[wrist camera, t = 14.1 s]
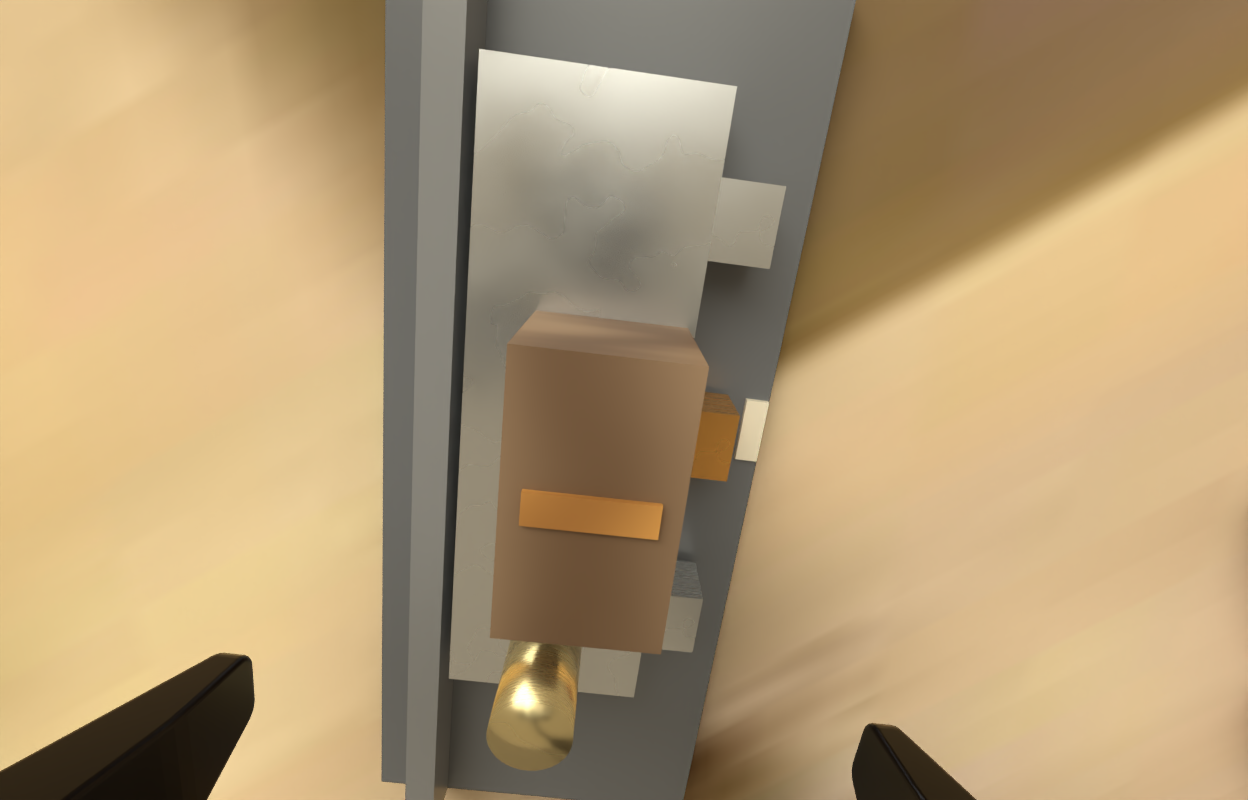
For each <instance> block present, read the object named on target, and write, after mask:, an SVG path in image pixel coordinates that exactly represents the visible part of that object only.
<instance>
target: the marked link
mask: <svg viewBox="0 0 1248 800" xmlns="http://www.w3.org/2000/svg"><path fill="white" fill-rule="evenodd" d="M708 371H709V366H708V364H707V362H706V360H705V358H704V356H703V355H702V353H701V351H700V349H699V347H698V345H697V344H696V342H695V340H694V338H693V336H692V334H691V333H690V331H689V329H688V328H683V327H674V326H666V325H657V324H649V323H640V322H632V321H623V320H614V319H606V318H597V317H589V316H580V315H572V314H563V313H555V312H546V311H538V310H536V311H535V312H534V313H533V314H532V315H531V316H530V318H529V319H528V320H527V321H526V322H525V323H524V325H523V326H522V327H521V328H520V329H519V330H518V331H517V333H516V334H515V335H514V336H513V337H512V338H511V340H510V341H509V342H508V343H507V353H506V370H505V387H504V404H503V421H502V438H501V455H500V472H499V489H498V507H497V524H496V541H495V558H494V575H493V592H492V609H491V626H490V638H494V639H505V640H515V641H525V642H536V643H546V644H557V645H567V646H578V647H588V648H598V649H609V650H619V651H630V652H640V653H651V654H661V651H662V645H663V639H664V633H665V627H666V621H667V615H668V609H669V603H670V597H671V591H672V586H673V580H674V574H675V568H676V562H677V556H678V550H679V544H680V538H681V532H682V526H683V520H684V514H685V508H686V502H687V496H688V490H689V484H690V478H691V472H692V466H693V460H694V454H695V448H696V442H697V436H698V430H699V424H700V418H701V412H702V406H703V400H704V395H705V389H706V383H707V377H708Z"/></svg>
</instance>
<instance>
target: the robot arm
mask: <svg viewBox="0 0 1248 800" xmlns="http://www.w3.org/2000/svg"><path fill="white" fill-rule="evenodd" d="M254 700H255V698H254V683H253V669H252V661H251V659H250V658H249V657H248V656H246V655H239V654H230V653H219V654H216V655H213V656H211V657H209V658H208V659H206V660H204V661H202V662H200V663H198V664H197V665H195V666H193V667H191V668H189V669H187V670H186V671H184V672H182V673H180V674H178V675H176V676H175V677H173V678H171V679H169V680H167V681H165V682H163V683H162V684H160V685H158V686H156V687H154V688H152V689H151V690H149V691H147V692H145V693H143V694H141V695H140V696H138V697H136V698H134V699H132V700H130V701H129V702H127V703H125V704H123V705H121V706H119V707H118V708H116V709H114V710H112V711H110V712H108V713H107V714H105V715H103V716H101V717H99V718H97V719H95V720H94V721H92V722H90V723H88V724H86V725H84V726H83V727H81V728H79V729H77V730H75V731H73V732H72V733H70V734H68V735H66V736H64V737H62V738H61V739H59V740H57V741H55V742H53V743H51V744H50V745H48V746H46V747H44V748H42V749H40V750H39V751H37V752H35V753H33V754H31V755H29V756H27V757H26V758H24V759H22V760H20V761H18V762H16V763H15V764H13V765H11V766H9V767H7V768H5V769H4V770H2V771H0V800H207V799H208V797H209V795H210V793H211V791H212V789H213V787H214V786H215V784H216V782H217V780H218V778H219V776H220V774H221V772H222V770H223V769H224V767H225V765H226V763H227V761H228V759H229V757H230V755H231V753H232V752H233V750H234V748H235V746H236V744H237V742H238V740H239V738H240V736H241V734H242V733H243V731H244V729H245V727H246V725H247V723H248V721H249V719H250V717H251V714H252V712H253V708H254ZM852 780H853V785H854V789H855V794H856V798H857V800H976V799H975V798H974V797H973V796H972V795H971V794H970V793H969V792H968V791H966V790H965V789H964V788H963V787H962V786H961V785H960V784H959V783H958V782H957V781H956V780H955V779H953V778H952V777H951V776H950V775H949V774H948V773H947V772H946V771H945V770H944V769H943V768H942V767H940V766H939V765H938V764H937V763H936V762H935V761H934V760H933V759H932V758H931V757H930V756H929V755H927V754H926V753H925V752H924V751H923V750H922V749H921V748H920V747H919V746H918V745H917V744H915V743H914V742H913V741H912V740H911V739H910V738H909V737H908V736H907V735H906V734H905V733H904V732H902V731H901V730H900V729H899V728H897V727H896V726H893V725H885V724H876V723H870V724H868V725H867V726H866V727H865V729H864V731H863V734H862V737H861V740H860V743H859V746H858V749H857V752H856V755H855V758H854V761H853V765H852Z"/></svg>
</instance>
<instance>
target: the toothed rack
mask: <svg viewBox="0 0 1248 800" xmlns="http://www.w3.org/2000/svg"><path fill="white" fill-rule="evenodd" d="M736 90H737V86H731V85H724V84H717V83H710V82H704V81H697V80H690V79H683V78H676V77H669V76H663V75H656V74H649V73H642V72H635V71H628V70H621V69H615V68H608V67H601V66H594V65H587V64H580V63H574V62H567V61H560V60H553V59H546V58H539V57H532V56H526V55H519V54H512V53H505V52H498V51H491V50H485V49H479V60H478V81H477V102H476V123H475V144H474V165H473V185H472V206H471V227H470V248H469V269H468V290H467V310H466V331H465V352H464V373H463V394H462V414H461V435H460V456H459V477H458V498H457V519H456V539H455V560H454V581H453V602H452V623H451V644H450V664H449V679H458V680H467V681H477V682H487V683H497V684H499V685H498V689H497V693H496V697H495V700H494V704H493V708H492V712H491V716H490V719H489V723H488V727H487V732H486V739H487V744H488V746H489V748H490V750H491V752H492V753H493V754H494V756H495V757H496V758H497V759H499V760H500V761H501V762H503V763H504V764H506V765H508V766H510V767H513V768H516V769H520V770H526V771H537V770H543V769H547V768H550V767H553V766H555V765H556V764H558V763H560V762H561V761H562V760H563V759H564V758H565V757H566V756H567V755H568V753H569V752H570V750H571V747H572V744H573V735H574V724H575V714H576V703H577V693H578V692H585V693H594V694H604V695H614V696H624V697H634V693H635V688H636V682H637V676H638V670H639V664H640V658H641V653H640V652H630V651H619V650H609V649H598V648H588V647H578V646H567V645H557V644H546V643H536V642H525V641H515V640H505V639H494V638H490V626H491V609H492V592H493V575H494V558H495V541H496V524H497V507H498V489H499V472H500V455H501V438H502V421H503V404H504V387H505V370H506V353H507V343H508V342H509V341H510V340H511V338H512V337H513V336H514V335H515V334H516V333H517V331H518V330H519V329H520V328H521V327H522V326H523V325H524V323H525V322H526V321H527V320H528V319H529V318H530V316H531V315H532V314H533V313H534V312H535V311H536V310H538V311H546V312H555V313H563V314H572V315H580V316H589V317H597V318H606V319H614V320H623V321H632V322H640V323H649V324H657V325H666V326H674V327H683V328H688V329H689V331H690V333H691V334H692V336H693V338H694V339H695V333H696V327H697V321H698V315H699V309H700V303H701V297H702V291H703V286H704V280H705V274H706V268H707V262H708V261H713V262H720V263H728V264H735V265H743V266H750V267H758V268H765V269H770V265H771V260H772V255H773V250H774V245H775V240H776V235H777V230H778V225H779V220H780V215H781V210H782V205H783V200H784V195H785V190H786V186H780V185H773V184H766V183H759V182H752V181H745V180H737V179H730V178H723V177H722V173H723V167H724V161H725V155H726V150H727V144H728V138H729V132H730V126H731V120H732V114H733V108H734V102H735V96H736ZM739 419H740V415H739V413H738V412H737V410H736V408H735V406H734V405H733V403H732V401H731V399H730V397H729V396H728V394H720V393H712V392H705V395H704V400H703V406H702V412H701V418H700V424H699V430H698V436H697V442H696V448H695V454H694V460H693V466H692V472H691V477H692V478H700V479H709V480H717V481H726V482H727V478H728V473H729V468H730V463H731V458H732V454H733V449H734V444H735V439H736V434H737V429H738V424H739ZM702 602H703V597H702V592H701V587H700V582H699V577H698V572H697V567H696V562H688V561H679V560H677V562H676V568H675V574H674V580H673V586H672V591H671V597H670V603H669V609H668V615H667V621H666V627H665V633H664V639H663V645H662V650H672V651H681V652H691V653H692V652H693V647H694V642H695V637H696V632H697V627H698V622H699V617H700V612H701V607H702Z"/></svg>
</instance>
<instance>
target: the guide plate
mask: <svg viewBox="0 0 1248 800" xmlns="http://www.w3.org/2000/svg"><path fill="white" fill-rule="evenodd" d="M855 1H856V0H386V17H385V213H384V409H383V606H382V781H383V782H393V783H404V784H406V792H405V800H444V798H445V794H446V791H447V788H457V789H467V790H478V791H488V792H499V793H509V794H520V795H530V796H541V797H552V798H562V799H573V800H683V799H684V794H685V790H686V785H687V780H688V776H689V771H690V766H691V762H692V757H693V752H694V748H695V743H696V739H697V734H698V729H699V725H700V720H701V715H702V711H703V706H704V701H705V697H706V692H707V688H708V683H709V678H710V674H711V669H712V664H713V660H714V655H715V650H716V646H717V641H718V637H719V632H720V627H721V623H722V618H723V613H724V609H725V604H726V599H727V595H728V590H729V586H730V581H731V576H732V572H733V567H734V562H735V558H736V553H737V549H738V544H739V539H740V535H741V530H742V525H743V521H744V516H745V511H746V507H747V502H748V498H749V493H750V488H751V484H752V479H753V474H754V470H755V465H756V462H757V457H758V453H759V448H760V443H761V439H762V434H763V429H764V425H765V420H766V416H767V411H768V406H769V400H770V396H771V391H772V386H773V382H774V377H775V372H776V368H777V363H778V358H779V354H780V349H781V345H782V340H783V335H784V331H785V326H786V321H787V317H788V312H789V307H790V303H791V298H792V294H793V289H794V284H795V280H796V275H797V270H798V266H799V261H800V256H801V252H802V247H803V243H804V238H805V233H806V229H807V224H808V219H809V215H810V210H811V205H812V201H813V196H814V192H815V187H816V182H817V178H818V173H819V168H820V164H821V159H822V154H823V150H824V145H825V141H826V136H827V131H828V127H829V122H830V117H831V113H832V108H833V103H834V99H835V94H836V90H837V85H838V80H839V76H840V71H841V66H842V62H843V57H844V52H845V48H846V43H847V39H848V34H849V29H850V25H851V20H852V15H853V11H854V6H855ZM479 49H485V50H491V51H498V52H505V53H512V54H519V55H526V56H532V57H539V58H546V59H553V60H560V61H567V62H574V63H580V64H587V65H594V66H601V67H608V68H615V69H621V70H628V71H635V72H642V73H649V74H656V75H663V76H669V77H676V78H683V79H690V80H697V81H704V82H710V83H717V84H724V85H731V86H737V90H736V96H735V102H734V108H733V114H732V120H731V126H730V132H729V138H728V144H727V150H726V155H725V161H724V167H723V173H722V177H723V178H730V179H737V180H745V181H752V182H759V183H766V184H773V185H780V186H786V190H785V195H784V200H783V205H782V210H781V215H780V220H779V225H778V230H777V235H776V240H775V245H774V250H773V255H772V260H771V265H770V269H765V268H758V267H750V266H743V265H735V264H728V263H720V262H713V261H708V262H707V268H706V274H705V280H704V286H703V291H702V297H701V303H700V309H699V315H698V321H697V327H696V333H695V339H694V340H695V342H696V344H697V345H698V347H699V349H700V351H701V353H702V355H703V356H704V358H705V360H706V362H707V364H708V366H709V371H708V377H707V383H706V389H705V392H712V393H720V394H728V396H729V397H730V399H731V401H732V403H733V405H734V406H735V408H736V410H737V412H738V413H739V415H740V419H739V424H738V429H737V434H736V439H735V444H734V449H733V454H732V458H731V463H730V468H729V473H728V478H727V482H726V481H717V480H709V479H700V478H692V477H691V478H690V484H689V490H688V496H687V502H686V508H685V514H684V520H683V526H682V532H681V538H680V544H679V550H678V556H677V560H679V561H688V562H696V567H697V572H698V577H699V582H700V587H701V592H702V597H703V602H702V607H701V612H700V617H699V622H698V627H697V632H696V637H695V642H694V647H693V652H692V653H691V652H681V651H672V650H662V651H661V654H651V653H641V658H640V664H639V670H638V676H637V682H636V688H635V693H634V697H624V696H614V695H604V694H594V693H585V692H578V693H577V703H576V714H575V724H574V735H573V744H572V747H571V750H570V752H569V753H568V755H567V756H566V757H565V758H564V759H563V760H562V761H561V762H560V763H558V764H556V765H555V766H553V767H550V768H547V769H543V770H537V771H526V770H520V769H516V768H513V767H510V766H508V765H506V764H504V763H503V762H501V761H500V760H499V759H497V758H496V757H495V756H494V754H493V753H492V752H491V750H490V748H489V746H488V744H487V739H486V732H487V727H488V723H489V719H490V716H491V712H492V708H493V704H494V700H495V697H496V693H497V689H498V685H499V684H497V683H487V682H477V681H467V680H458V679H449V664H450V644H451V623H452V602H453V581H454V560H455V539H456V519H457V498H458V477H459V456H460V435H461V414H462V394H463V373H464V352H465V331H466V310H467V290H468V269H469V248H470V227H471V206H472V185H473V165H474V144H475V123H476V102H477V81H478V60H479Z"/></svg>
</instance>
